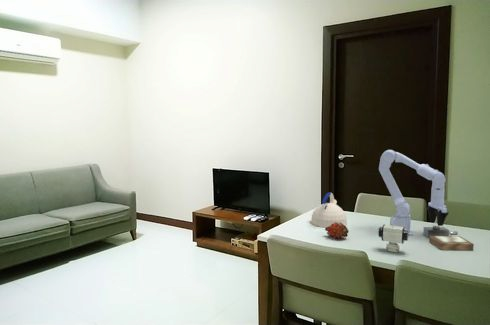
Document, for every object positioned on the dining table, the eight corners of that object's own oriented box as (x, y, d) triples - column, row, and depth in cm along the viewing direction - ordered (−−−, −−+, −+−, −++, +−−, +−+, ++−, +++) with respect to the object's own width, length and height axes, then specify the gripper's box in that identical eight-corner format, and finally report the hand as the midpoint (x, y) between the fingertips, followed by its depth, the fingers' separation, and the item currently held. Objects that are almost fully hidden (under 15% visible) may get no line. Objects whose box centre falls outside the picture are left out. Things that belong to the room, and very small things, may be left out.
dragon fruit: (349, 243, 168) (326, 242, 175) (352, 230, 174) (329, 229, 180) (344, 232, 164) (321, 232, 171) (347, 218, 170) (324, 219, 176)
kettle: (351, 221, 202) (352, 191, 201) (340, 230, 185) (341, 197, 183) (318, 217, 213) (318, 188, 211) (305, 225, 196) (305, 193, 194)
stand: (440, 249, 154) (441, 242, 154) (429, 241, 165) (429, 235, 165) (473, 250, 153) (473, 243, 153) (459, 242, 164) (459, 235, 164)
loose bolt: (448, 235, 175) (448, 231, 174) (445, 234, 177) (445, 230, 176) (459, 234, 176) (459, 230, 176) (455, 233, 178) (455, 229, 178)
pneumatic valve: (379, 247, 158) (380, 221, 157) (407, 251, 153) (408, 225, 151) (377, 250, 154) (378, 224, 153) (406, 255, 148) (407, 228, 147)
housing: (427, 238, 171) (428, 227, 170) (423, 235, 176) (423, 225, 175) (448, 238, 170) (449, 228, 170) (443, 235, 175) (444, 225, 175)
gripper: (453, 199, 164) (452, 227, 165) (438, 193, 178) (437, 219, 179) (438, 199, 164) (437, 227, 165) (424, 193, 179) (423, 219, 180)
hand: (436, 223), depth 172 cm, fingers open, 7 cm apart
